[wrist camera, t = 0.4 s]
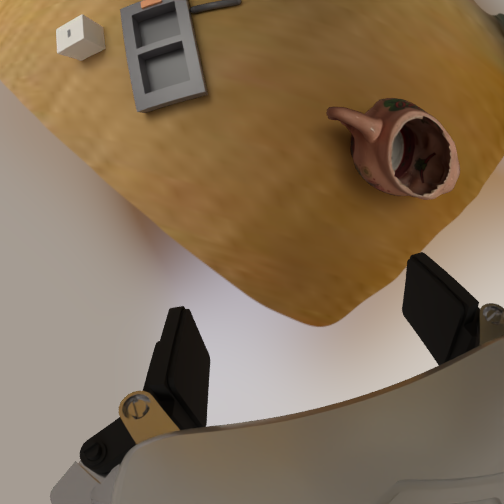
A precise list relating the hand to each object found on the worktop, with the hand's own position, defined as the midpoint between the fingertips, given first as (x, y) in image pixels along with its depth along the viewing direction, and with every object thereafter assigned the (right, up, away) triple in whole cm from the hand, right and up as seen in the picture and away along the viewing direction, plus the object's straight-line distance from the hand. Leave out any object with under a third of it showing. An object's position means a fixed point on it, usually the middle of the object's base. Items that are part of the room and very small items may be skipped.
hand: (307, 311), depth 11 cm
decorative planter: (+15, +19, +25) cm, 35 cm away
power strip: (-11, +31, +18) cm, 37 cm away
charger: (-26, +33, +16) cm, 45 cm away
